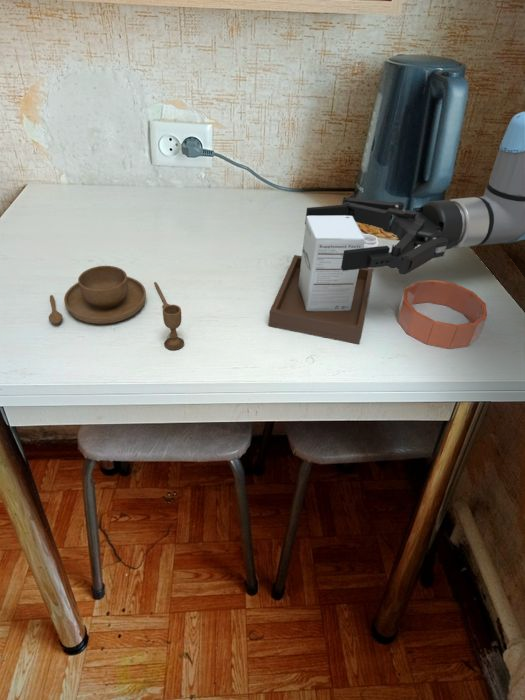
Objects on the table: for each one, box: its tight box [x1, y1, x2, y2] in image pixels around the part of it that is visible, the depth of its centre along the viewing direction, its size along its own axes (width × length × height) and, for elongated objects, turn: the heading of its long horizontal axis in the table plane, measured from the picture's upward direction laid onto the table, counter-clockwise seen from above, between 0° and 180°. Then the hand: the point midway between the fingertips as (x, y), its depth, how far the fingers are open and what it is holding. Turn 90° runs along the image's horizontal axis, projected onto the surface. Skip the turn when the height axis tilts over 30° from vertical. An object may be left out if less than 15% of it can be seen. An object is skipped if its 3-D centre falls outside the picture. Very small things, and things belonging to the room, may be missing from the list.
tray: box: [268, 254, 374, 345], centre depth 81 cm, size 18×14×3 cm
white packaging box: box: [298, 216, 365, 311], centre depth 77 cm, size 7×7×13 cm
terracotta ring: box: [397, 279, 488, 350], centre depth 78 cm, size 12×12×4 cm
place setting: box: [48, 265, 185, 351], centre depth 73 cm, size 18×20×6 cm
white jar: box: [363, 233, 380, 248], centre depth 94 cm, size 5×3×5 cm
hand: (323, 237), depth 73 cm, fingers open, 13 cm apart
